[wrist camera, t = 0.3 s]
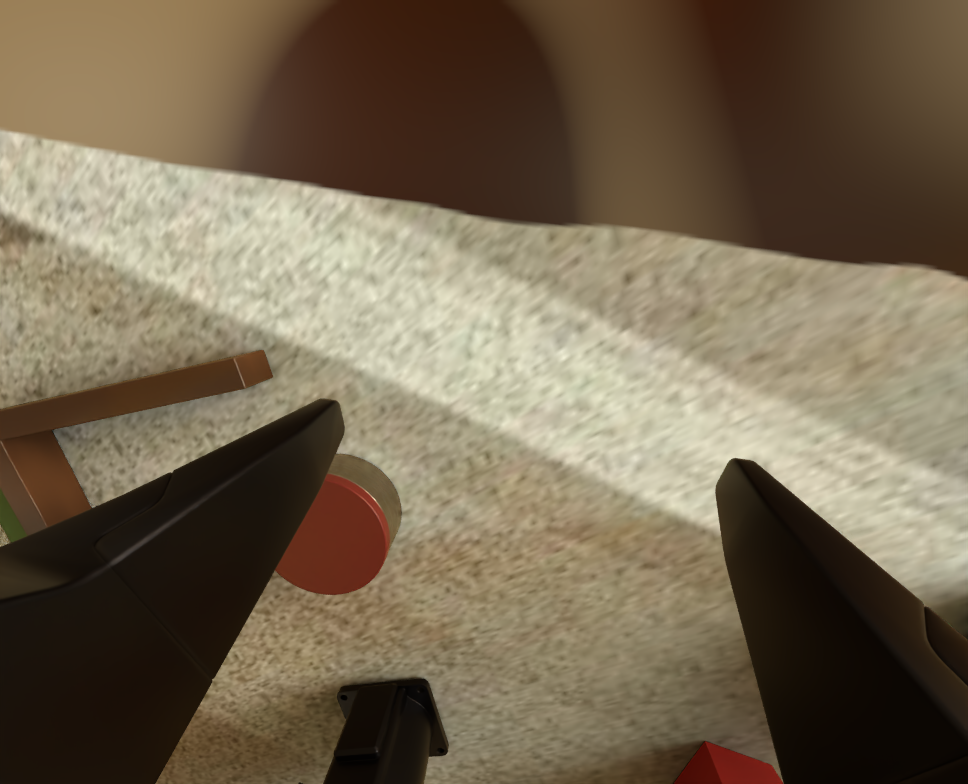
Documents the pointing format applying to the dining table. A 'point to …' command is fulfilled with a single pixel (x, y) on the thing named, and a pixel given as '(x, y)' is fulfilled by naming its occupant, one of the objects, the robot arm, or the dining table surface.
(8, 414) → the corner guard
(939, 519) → the dining table surface
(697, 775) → the french fries
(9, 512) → the green rag
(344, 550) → the tin
